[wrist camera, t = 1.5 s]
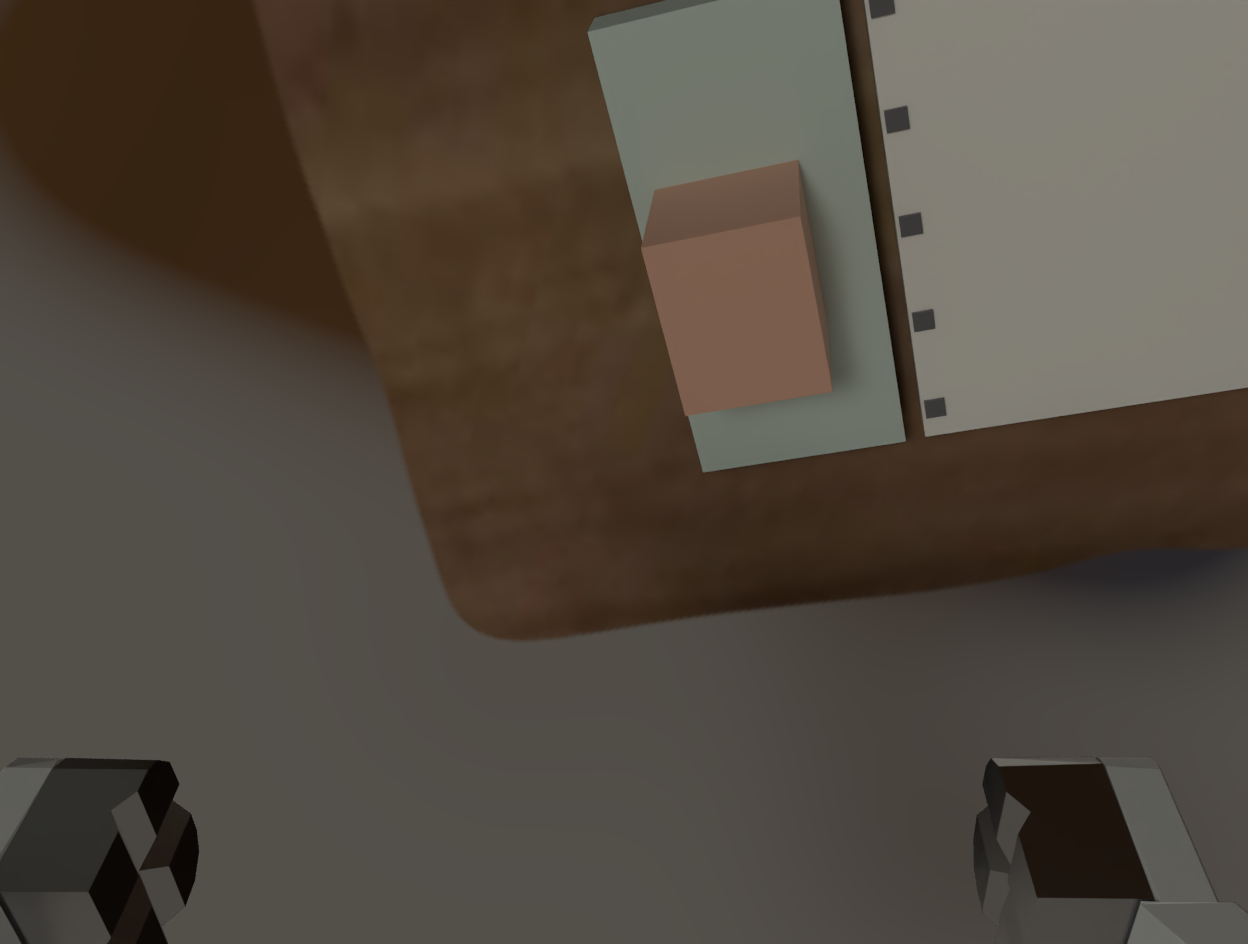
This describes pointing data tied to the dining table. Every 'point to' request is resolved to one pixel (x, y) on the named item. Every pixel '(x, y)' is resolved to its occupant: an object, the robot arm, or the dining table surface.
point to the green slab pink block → (754, 222)
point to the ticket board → (1066, 200)
